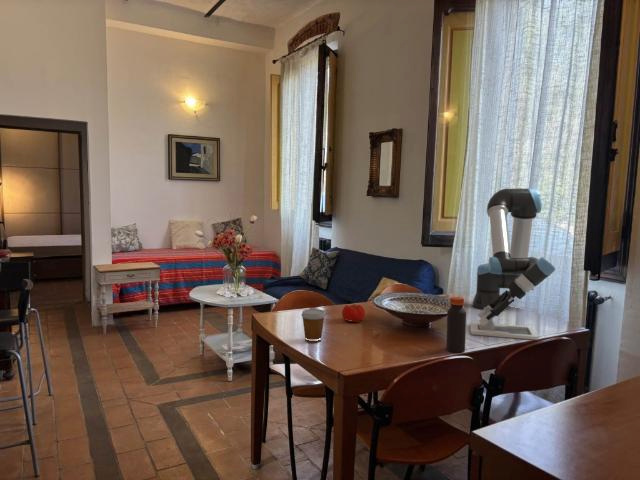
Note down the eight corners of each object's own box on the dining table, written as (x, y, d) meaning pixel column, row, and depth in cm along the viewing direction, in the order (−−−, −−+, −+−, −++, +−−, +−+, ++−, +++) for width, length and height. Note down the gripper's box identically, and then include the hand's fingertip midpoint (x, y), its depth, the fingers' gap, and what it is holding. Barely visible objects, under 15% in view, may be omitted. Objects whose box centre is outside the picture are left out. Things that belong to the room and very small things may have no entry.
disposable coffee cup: (327, 344, 181) (327, 313, 180) (302, 345, 179) (303, 314, 178) (322, 336, 190) (323, 308, 189) (300, 337, 189) (300, 309, 188)
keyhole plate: (469, 325, 210) (470, 321, 210) (532, 330, 202) (532, 326, 202) (471, 334, 194) (471, 331, 194) (538, 340, 187) (538, 336, 187)
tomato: (346, 324, 209) (346, 308, 209) (339, 318, 220) (339, 303, 219) (368, 323, 212) (368, 307, 211) (360, 317, 222) (361, 302, 222)
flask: (497, 333, 196) (498, 310, 195) (479, 332, 197) (480, 309, 197) (494, 328, 203) (495, 306, 202) (477, 327, 204) (477, 305, 204)
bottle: (467, 353, 171) (469, 300, 169) (449, 353, 170) (451, 300, 169) (460, 347, 178) (462, 296, 176) (443, 347, 177) (445, 296, 175)
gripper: (531, 299, 183) (488, 333, 189) (523, 288, 206) (484, 320, 211) (517, 285, 184) (475, 320, 190) (510, 276, 207) (473, 307, 212)
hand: (480, 320), depth 201 cm, fingers open, 11 cm apart
